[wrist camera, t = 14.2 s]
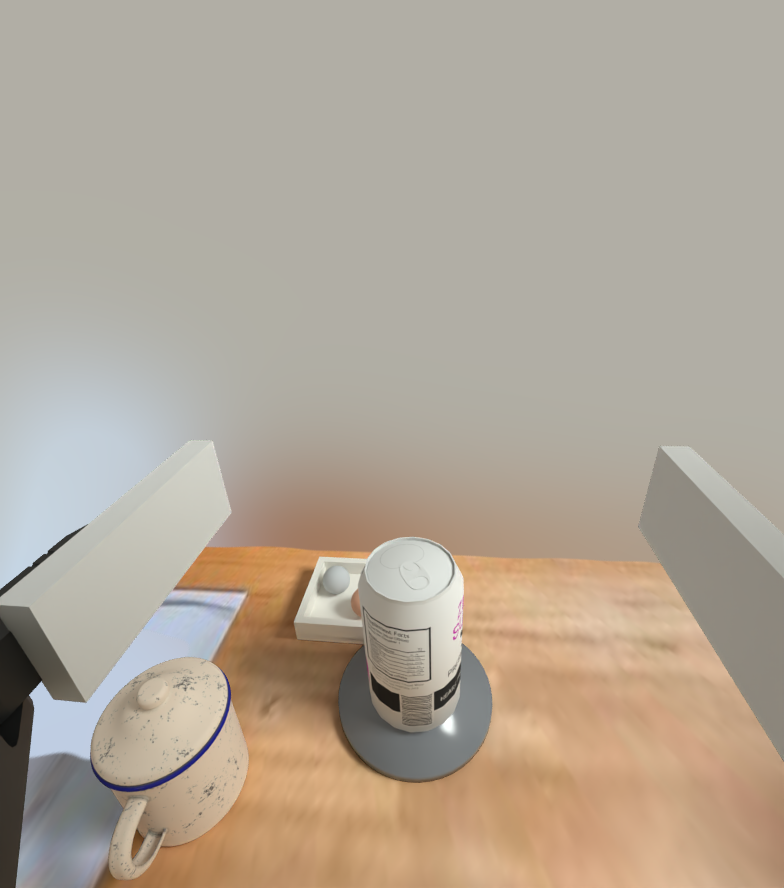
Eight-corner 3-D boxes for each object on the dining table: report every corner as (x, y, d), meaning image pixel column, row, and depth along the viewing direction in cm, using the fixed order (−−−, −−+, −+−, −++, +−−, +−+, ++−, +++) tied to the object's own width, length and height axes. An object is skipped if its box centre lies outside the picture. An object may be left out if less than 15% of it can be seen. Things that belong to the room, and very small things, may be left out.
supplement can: (358, 670, 41) (342, 550, 35) (433, 639, 44) (433, 522, 37) (390, 754, 35) (379, 625, 28) (477, 711, 37) (486, 584, 31)
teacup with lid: (166, 722, 39) (124, 633, 33) (265, 721, 38) (238, 631, 33) (77, 911, 28) (-6, 824, 23) (214, 911, 28) (162, 823, 22)
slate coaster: (485, 636, 45) (486, 631, 45) (499, 792, 33) (499, 787, 32) (355, 627, 47) (355, 622, 47) (321, 772, 35) (320, 766, 34)
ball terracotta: (382, 601, 49) (381, 580, 47) (378, 624, 46) (376, 603, 45) (355, 600, 49) (352, 579, 48) (349, 622, 47) (346, 601, 45)
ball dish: (399, 576, 53) (398, 560, 52) (389, 646, 45) (388, 628, 43) (322, 572, 55) (319, 556, 54) (297, 639, 46) (293, 622, 45)
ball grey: (353, 580, 52) (351, 560, 51) (348, 601, 49) (345, 580, 48) (328, 579, 52) (325, 559, 51) (321, 599, 50) (317, 578, 48)
